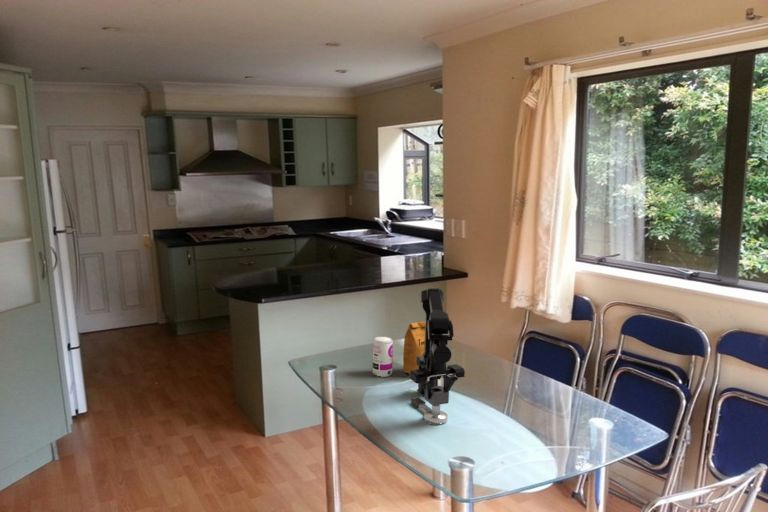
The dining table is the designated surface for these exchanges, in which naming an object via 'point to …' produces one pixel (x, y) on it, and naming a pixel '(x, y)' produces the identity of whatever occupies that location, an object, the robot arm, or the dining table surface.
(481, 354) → the dining table surface
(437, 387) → the socket
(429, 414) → the ratchet
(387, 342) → the supplement can
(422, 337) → the coffee package
